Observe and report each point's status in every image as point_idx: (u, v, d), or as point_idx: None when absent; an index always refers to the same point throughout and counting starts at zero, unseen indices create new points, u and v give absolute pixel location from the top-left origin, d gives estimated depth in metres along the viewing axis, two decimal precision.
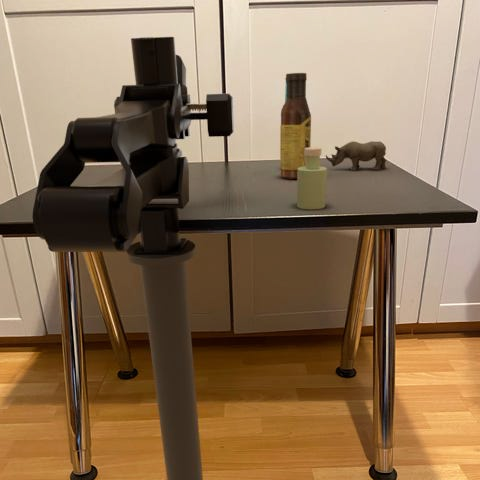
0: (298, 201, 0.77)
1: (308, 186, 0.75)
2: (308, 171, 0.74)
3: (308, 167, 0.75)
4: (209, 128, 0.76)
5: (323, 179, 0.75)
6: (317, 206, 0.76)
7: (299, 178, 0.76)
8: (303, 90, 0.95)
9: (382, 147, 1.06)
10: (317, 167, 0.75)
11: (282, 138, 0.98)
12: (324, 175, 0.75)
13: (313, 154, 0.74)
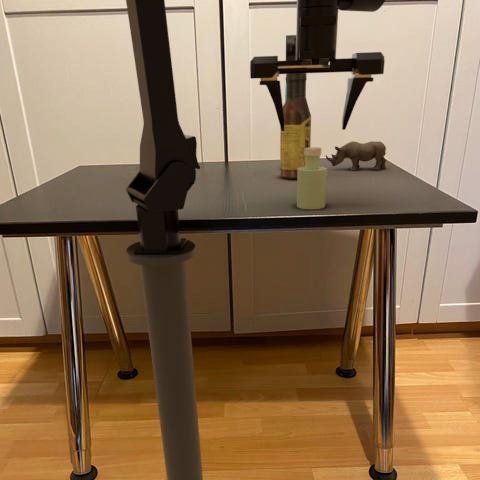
0: (298, 201, 0.77)
1: (308, 186, 0.75)
2: (308, 171, 0.74)
3: (308, 167, 0.75)
4: None
5: (323, 179, 0.75)
6: (317, 206, 0.76)
7: (299, 178, 0.76)
8: (303, 90, 0.95)
9: (382, 147, 1.06)
10: (317, 167, 0.75)
11: (282, 138, 0.98)
12: (324, 175, 0.75)
13: (313, 154, 0.74)
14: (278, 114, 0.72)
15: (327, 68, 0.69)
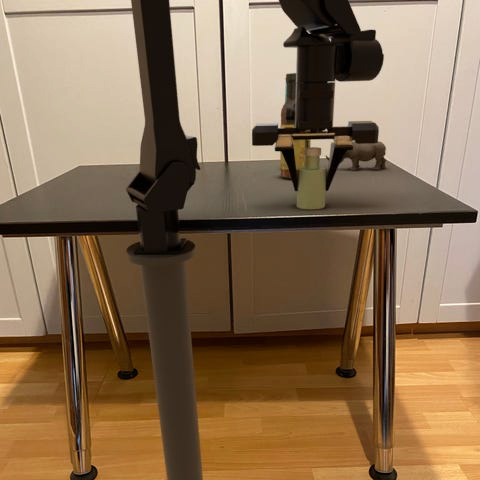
0: (298, 201, 0.77)
1: (308, 186, 0.75)
2: (308, 171, 0.74)
3: (308, 167, 0.75)
4: (354, 123, 0.71)
5: (323, 179, 0.75)
6: (317, 206, 0.76)
7: (299, 178, 0.76)
8: None
9: (382, 147, 1.06)
10: (317, 167, 0.75)
11: None
12: (324, 175, 0.75)
13: (313, 154, 0.74)
14: (292, 176, 0.75)
15: (310, 136, 0.73)
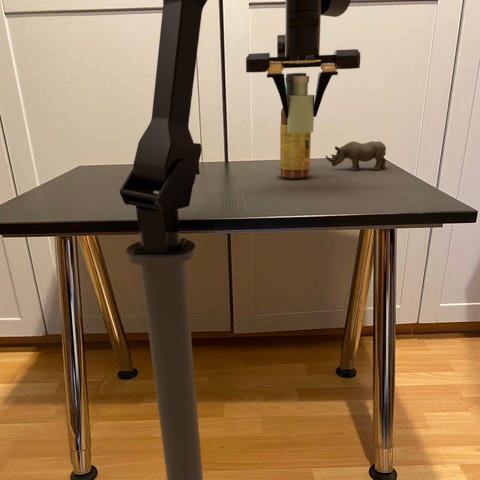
0: (288, 127, 0.85)
1: (297, 111, 0.83)
2: (297, 96, 0.82)
3: (297, 94, 0.83)
4: (338, 50, 0.78)
5: (310, 104, 0.82)
6: (306, 130, 0.84)
7: (289, 104, 0.83)
8: None
9: (382, 147, 1.06)
10: (305, 93, 0.83)
11: (282, 138, 0.98)
12: (312, 101, 0.82)
13: (301, 81, 0.81)
14: (282, 103, 0.83)
15: (299, 64, 0.81)
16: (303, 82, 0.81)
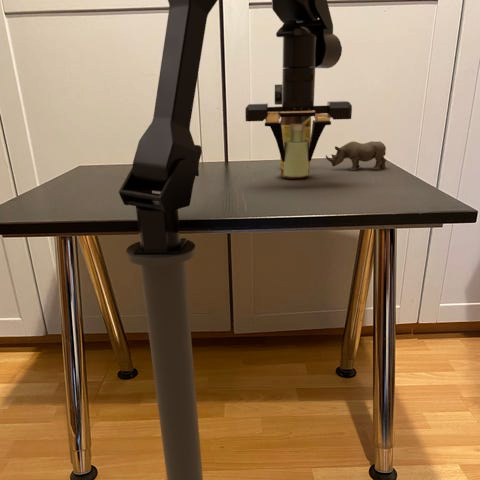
0: (285, 170, 0.91)
1: (293, 156, 0.88)
2: (293, 143, 0.87)
3: (293, 140, 0.88)
4: (331, 102, 0.84)
5: (305, 150, 0.88)
6: (301, 174, 0.90)
7: (285, 150, 0.89)
8: None
9: (382, 147, 1.06)
10: (301, 140, 0.88)
11: None
12: (307, 147, 0.88)
13: (297, 129, 0.87)
14: (279, 148, 0.89)
15: (295, 113, 0.87)
16: (298, 130, 0.87)
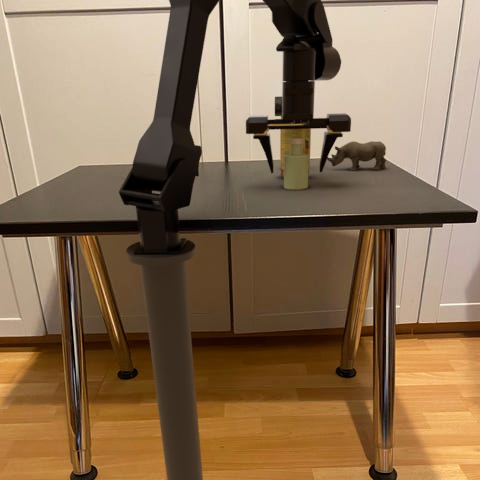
0: (285, 183, 0.92)
1: (293, 170, 0.89)
2: (293, 157, 0.89)
3: (293, 154, 0.89)
4: (330, 115, 0.85)
5: (305, 163, 0.89)
6: (301, 187, 0.91)
7: (285, 163, 0.90)
8: None
9: (382, 147, 1.06)
10: (300, 154, 0.89)
11: (282, 138, 0.98)
12: (306, 160, 0.89)
13: (297, 142, 0.88)
14: (268, 160, 0.90)
15: (307, 125, 0.88)
16: (298, 144, 0.88)
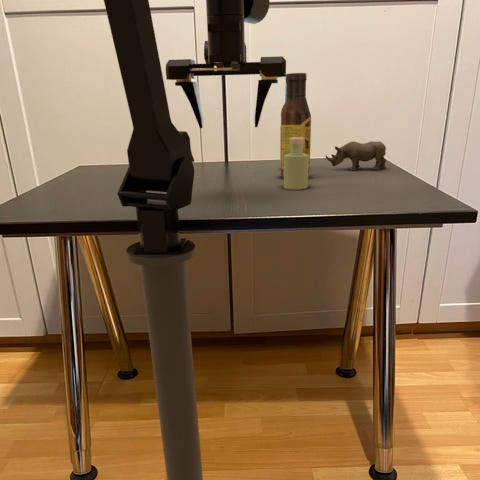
0: (285, 183, 0.92)
1: (293, 170, 0.89)
2: (293, 157, 0.89)
3: (293, 154, 0.89)
4: (262, 57, 0.73)
5: (305, 163, 0.89)
6: (301, 187, 0.91)
7: (285, 163, 0.90)
8: (303, 90, 0.95)
9: (382, 147, 1.06)
10: (300, 154, 0.89)
11: (282, 138, 0.98)
12: (306, 160, 0.89)
13: (297, 142, 0.88)
14: (195, 112, 0.78)
15: (237, 71, 0.76)
16: (298, 144, 0.88)
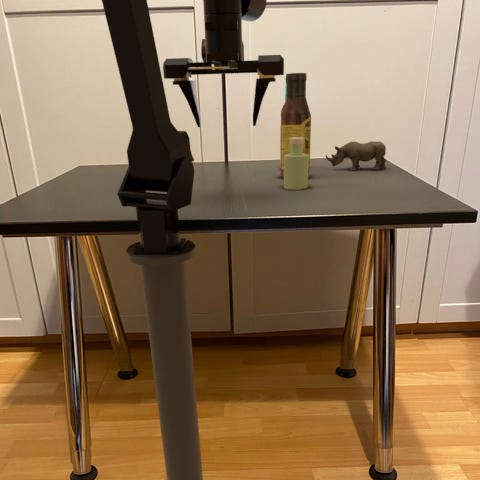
0: (285, 183, 0.92)
1: (293, 170, 0.89)
2: (293, 157, 0.89)
3: (293, 154, 0.89)
4: None
5: (305, 163, 0.89)
6: (301, 187, 0.91)
7: (285, 163, 0.90)
8: (303, 90, 0.95)
9: (382, 147, 1.06)
10: (300, 154, 0.89)
11: (282, 138, 0.98)
12: (306, 160, 0.89)
13: (297, 142, 0.88)
14: (192, 111, 0.78)
15: (235, 69, 0.76)
16: (298, 144, 0.88)
